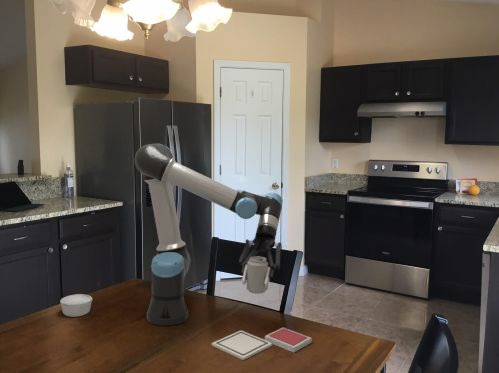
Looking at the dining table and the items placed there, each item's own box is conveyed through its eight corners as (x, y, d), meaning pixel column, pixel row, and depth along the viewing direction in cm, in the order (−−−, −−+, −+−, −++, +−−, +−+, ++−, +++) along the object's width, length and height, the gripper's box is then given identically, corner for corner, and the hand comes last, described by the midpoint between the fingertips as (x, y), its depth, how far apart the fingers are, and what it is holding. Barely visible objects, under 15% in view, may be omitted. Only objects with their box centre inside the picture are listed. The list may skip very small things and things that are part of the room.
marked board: (211, 345, 150) (211, 342, 150) (240, 332, 160) (240, 330, 160) (243, 360, 141) (243, 357, 141) (272, 345, 151) (272, 342, 151)
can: (265, 295, 160) (266, 261, 159) (244, 293, 161) (245, 260, 160) (268, 288, 167) (269, 256, 166) (248, 286, 169) (249, 254, 167)
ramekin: (98, 311, 176) (98, 297, 175) (73, 320, 166) (73, 306, 166) (79, 304, 182) (79, 291, 181) (54, 313, 172) (54, 300, 172)
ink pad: (264, 340, 154) (264, 335, 154) (282, 331, 162) (283, 326, 162) (293, 352, 147) (293, 346, 146) (311, 342, 154) (311, 337, 154)
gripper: (294, 237, 174) (284, 292, 161) (243, 232, 180) (229, 285, 166) (292, 225, 168) (281, 282, 155) (239, 221, 174) (224, 275, 160)
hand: (254, 284), depth 161 cm, fingers closed on can, 7 cm apart
